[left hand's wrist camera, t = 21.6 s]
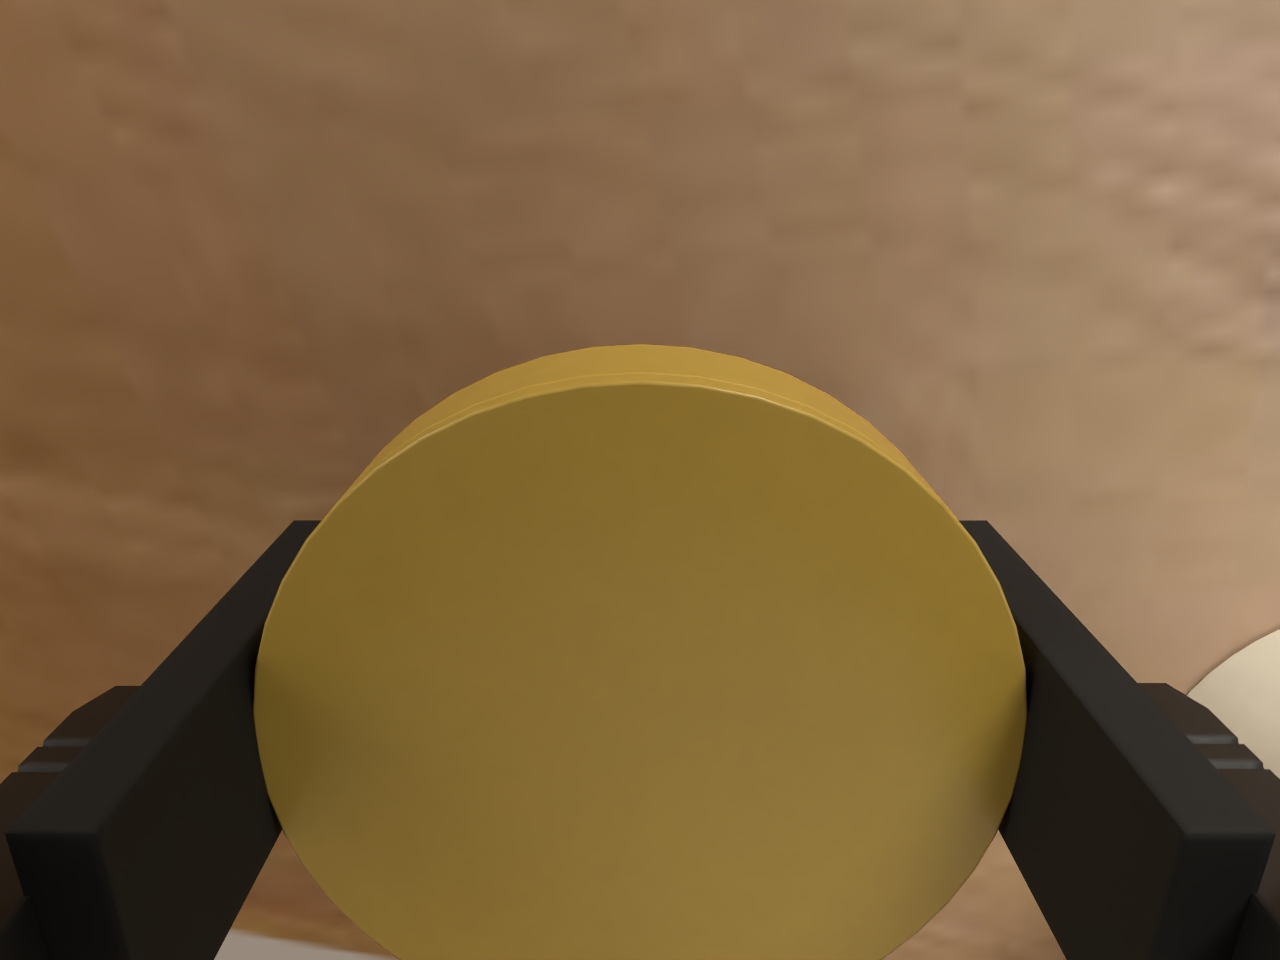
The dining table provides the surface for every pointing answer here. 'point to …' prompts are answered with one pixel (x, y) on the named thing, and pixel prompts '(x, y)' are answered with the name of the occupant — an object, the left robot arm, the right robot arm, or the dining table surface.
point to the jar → (1248, 697)
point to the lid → (640, 675)
